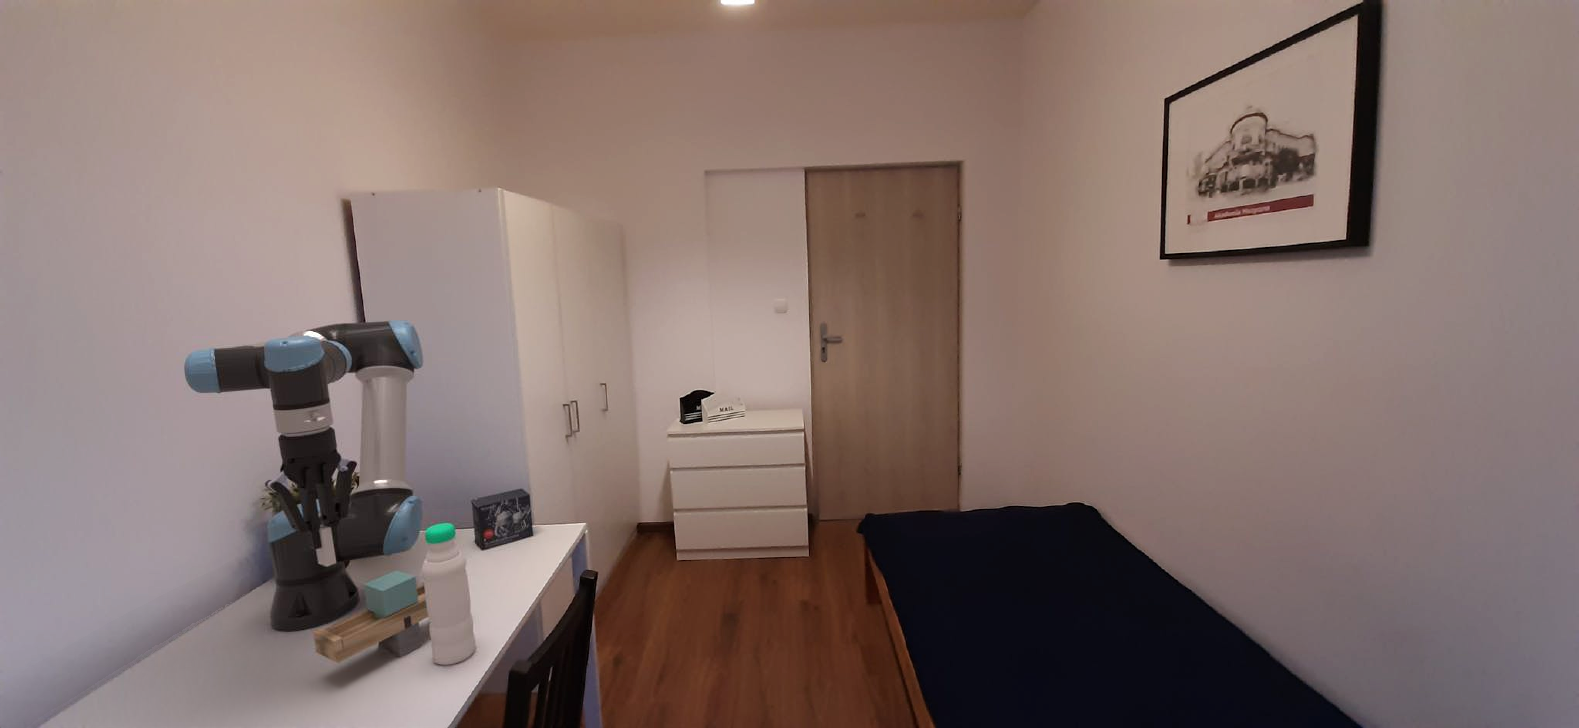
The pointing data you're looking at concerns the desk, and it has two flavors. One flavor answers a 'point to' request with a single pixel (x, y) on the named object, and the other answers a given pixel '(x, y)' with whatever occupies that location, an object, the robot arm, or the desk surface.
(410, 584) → the block
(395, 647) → the beam
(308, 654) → the desk surface
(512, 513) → the small box
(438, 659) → the white bottle
